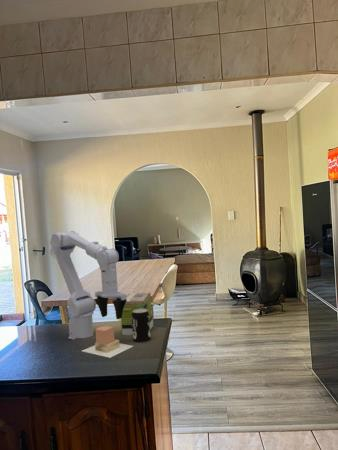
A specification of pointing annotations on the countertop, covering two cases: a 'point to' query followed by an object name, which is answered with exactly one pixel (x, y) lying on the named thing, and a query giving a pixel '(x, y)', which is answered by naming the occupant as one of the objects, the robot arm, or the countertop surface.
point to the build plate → (109, 354)
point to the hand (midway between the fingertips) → (111, 317)
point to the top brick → (104, 335)
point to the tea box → (131, 304)
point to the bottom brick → (107, 346)
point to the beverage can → (140, 325)
